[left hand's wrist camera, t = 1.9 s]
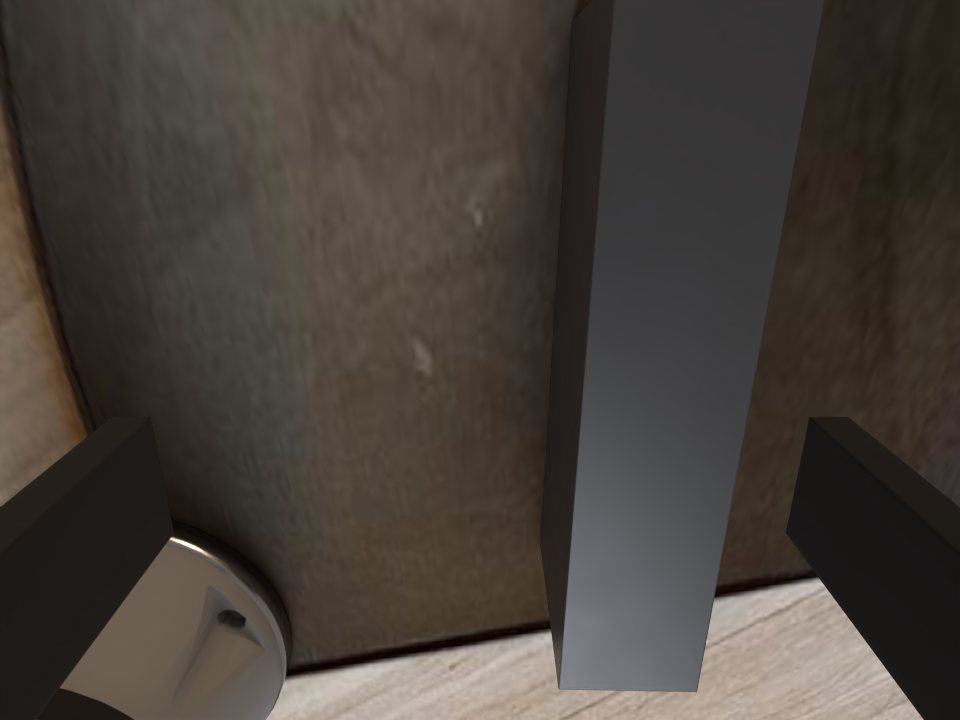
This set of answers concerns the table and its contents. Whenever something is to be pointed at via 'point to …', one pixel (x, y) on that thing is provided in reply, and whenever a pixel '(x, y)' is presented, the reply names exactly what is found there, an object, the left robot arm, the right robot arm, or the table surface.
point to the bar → (661, 317)
